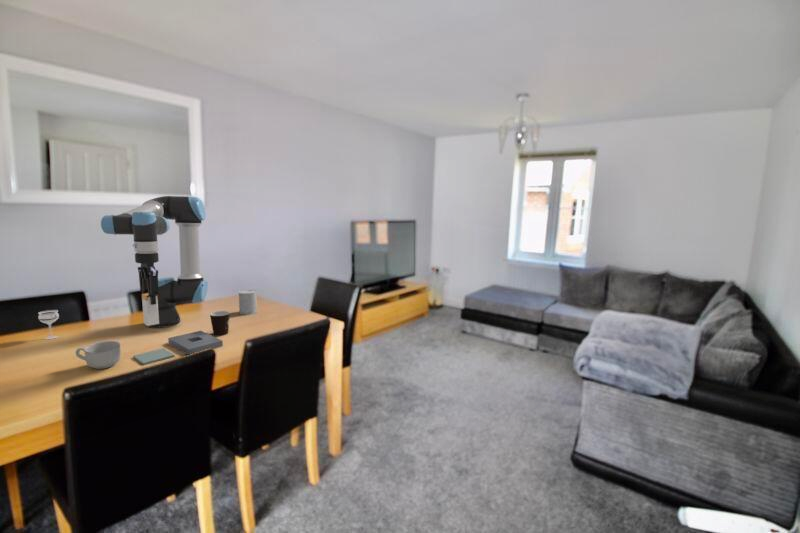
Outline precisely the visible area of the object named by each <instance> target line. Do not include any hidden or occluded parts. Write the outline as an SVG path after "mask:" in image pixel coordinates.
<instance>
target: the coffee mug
mask: <svg viewBox="0 0 800 533" xmlns="http://www.w3.org/2000/svg"><path fill="white" fill-rule="evenodd" d="M230 315H231V313H230V311H228V310H218V311H212V312H211V313H210V314H209V317H210V322H211V328H212V334H213V336H217V337H220V336H221V337H222V336H225V335H228V334H229V327H230Z"/></svg>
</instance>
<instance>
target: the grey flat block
mask: <svg viewBox="0 0 800 533" xmlns="http://www.w3.org/2000/svg"><path fill="white" fill-rule="evenodd" d="M167 340H168V344H169V345H170V346H172V347H173V348H176V349H177V350H179V351H181V352H183V353H185V354H186V355H188V356H190V355H189V354H192V353H195V352H198V351H202V350H205V349H209V348H214V349H217V348H221V347H223V343H224V342H223V340H222V339H220V338H218V337H215V335H211V334H209V333H207V332H204V331H202V330H197V331H193V332H189V333H184V334H181V335H176V336H170V337H168V339H167ZM195 354H196V353H195ZM192 355H193V354H192Z"/></svg>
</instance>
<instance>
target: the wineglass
mask: <svg viewBox="0 0 800 533" xmlns="http://www.w3.org/2000/svg"><path fill="white" fill-rule="evenodd" d="M58 312H59V310H58V309H47V310H42V311H39V312H38V313H37V314H38V317H37V319H38V320H39V321H40V322H41V323H43V324H46V325H48V330H49V336H47V337H44V338H45V339H51V340H54V339H53V338H56V339H58V338H57V336H58V335H53V334H52V324H53V323H55V322H56V321H57V320H58V319H60V314H59V313H58Z"/></svg>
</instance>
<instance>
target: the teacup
mask: <svg viewBox="0 0 800 533" xmlns="http://www.w3.org/2000/svg"><path fill="white" fill-rule="evenodd" d="M121 345H122V344H121V342H119V341H117V340H105V341H104V340H103V341H98V342H95V343H91V344H89V345H87V346H86V347H84V346H81V347H78V348H77V349H76V350H75V356H76V357H77V358H78V359H80V360H83V361H85V362H86V365H87V366H88V367H89V368H93V369H95V370H104V369H108V368H111V367H113V366H115V365H116V364H117V363H118V362H119V361H120V360H121V356H122V355H121V354H122V351H121ZM80 351H83V352H84V355H83V354H81V353H80Z"/></svg>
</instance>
